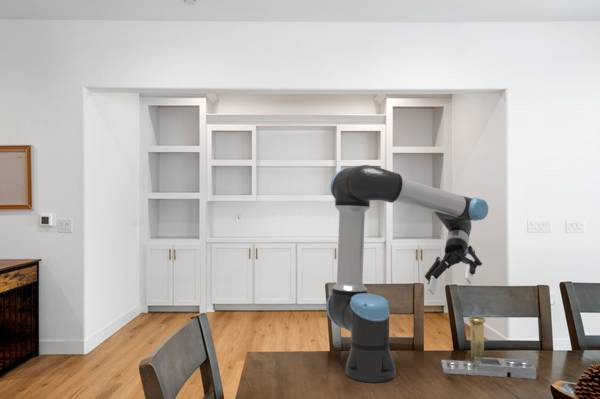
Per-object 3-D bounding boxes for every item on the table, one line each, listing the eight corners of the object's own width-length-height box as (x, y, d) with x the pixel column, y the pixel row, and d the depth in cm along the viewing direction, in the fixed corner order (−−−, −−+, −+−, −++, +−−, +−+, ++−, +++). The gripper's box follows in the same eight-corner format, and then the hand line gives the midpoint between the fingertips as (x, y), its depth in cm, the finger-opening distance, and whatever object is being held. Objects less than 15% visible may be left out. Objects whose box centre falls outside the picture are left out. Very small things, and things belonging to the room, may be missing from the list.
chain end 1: (443, 373, 139) (443, 365, 139) (441, 364, 147) (441, 357, 147) (506, 377, 135) (506, 369, 135) (500, 368, 143) (500, 360, 143)
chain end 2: (478, 375, 137) (478, 363, 137) (474, 366, 144) (474, 355, 145) (536, 379, 133) (536, 366, 133) (528, 369, 141) (528, 358, 141)
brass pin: (470, 362, 148) (469, 319, 148) (468, 357, 153) (467, 315, 153) (487, 363, 147) (486, 320, 147) (484, 358, 152) (483, 316, 152)
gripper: (495, 241, 156) (491, 284, 140) (432, 262, 172) (423, 303, 156) (483, 225, 155) (478, 267, 139) (421, 248, 170) (410, 288, 154)
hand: (449, 286), depth 147 cm, fingers open, 13 cm apart
